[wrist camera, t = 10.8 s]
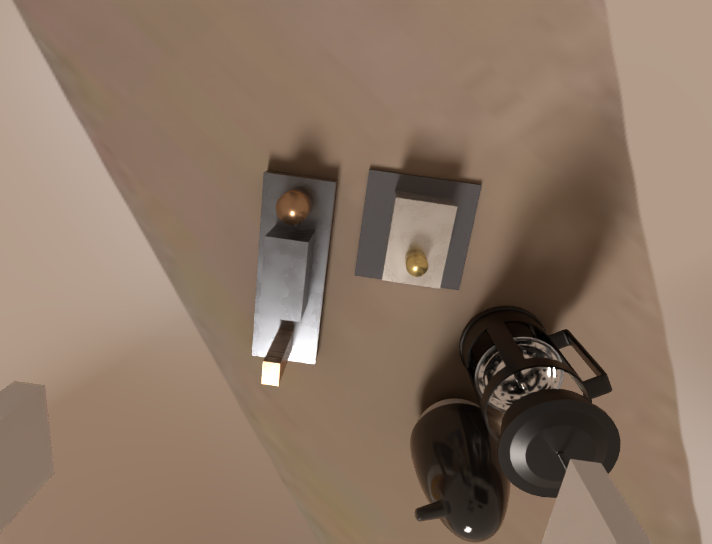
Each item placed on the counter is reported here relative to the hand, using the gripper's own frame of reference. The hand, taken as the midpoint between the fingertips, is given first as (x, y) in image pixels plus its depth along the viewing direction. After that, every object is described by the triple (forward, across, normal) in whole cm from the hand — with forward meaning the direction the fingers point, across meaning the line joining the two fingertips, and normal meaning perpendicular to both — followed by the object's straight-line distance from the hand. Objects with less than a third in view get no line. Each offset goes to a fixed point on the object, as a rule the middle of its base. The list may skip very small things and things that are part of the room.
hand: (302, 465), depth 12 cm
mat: (+37, +6, -2) cm, 37 cm away
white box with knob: (+36, +6, -2) cm, 37 cm away
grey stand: (+37, -6, -8) cm, 38 cm away
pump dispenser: (+37, +14, -24) cm, 46 cm away
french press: (+37, +18, -13) cm, 43 cm away
